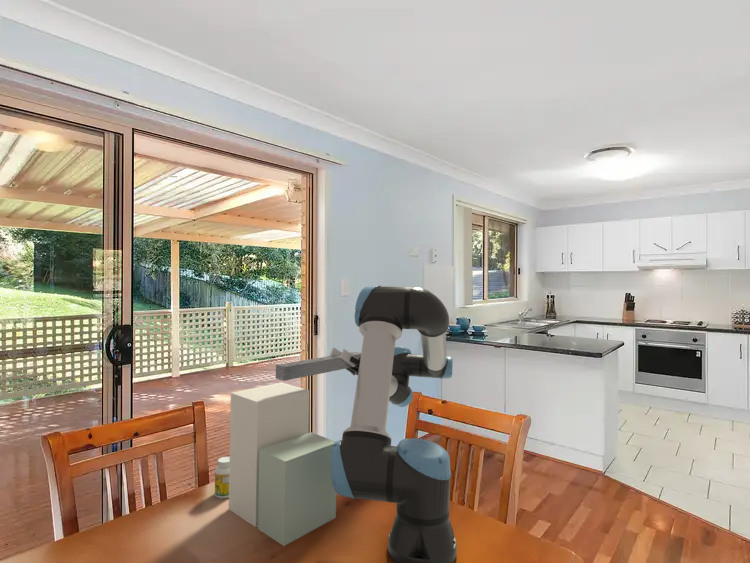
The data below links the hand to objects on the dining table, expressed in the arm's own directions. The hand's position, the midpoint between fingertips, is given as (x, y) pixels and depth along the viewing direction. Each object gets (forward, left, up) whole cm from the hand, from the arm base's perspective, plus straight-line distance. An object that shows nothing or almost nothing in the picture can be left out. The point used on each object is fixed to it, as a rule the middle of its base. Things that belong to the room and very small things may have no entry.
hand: (337, 352), depth 127 cm
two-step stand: (-6, +19, -38) cm, 43 cm away
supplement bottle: (+11, +28, -39) cm, 49 cm away
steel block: (-1, +5, -4) cm, 7 cm away
